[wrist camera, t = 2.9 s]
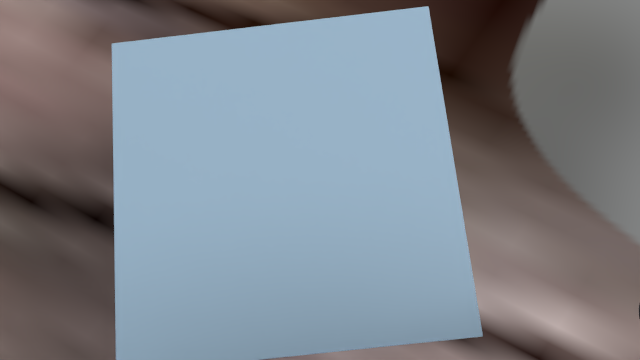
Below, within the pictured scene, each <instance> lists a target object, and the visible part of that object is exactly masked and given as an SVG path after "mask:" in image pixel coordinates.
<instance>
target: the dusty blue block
mask: <svg viewBox="0 0 640 360" xmlns="http://www.w3.org/2000/svg"><path fill="white" fill-rule="evenodd" d="M112 97H113V174H114V251H115V328H116V360H260V359H270V358H279V357H289V356H298V355H308V354H318V353H327V352H337V351H346V350H356V349H366V348H375V347H385V346H394V345H404V344H414V343H423V342H433V341H442V340H452V339H462V338H471V337H481V336H483V334H482V328H481V322H480V316H479V310H478V304H477V298H476V292H475V286H474V280H473V274H472V268H471V262H470V256H469V250H468V243H467V237H466V231H465V225H464V219H463V213H462V207H461V201H460V195H459V189H458V183H457V177H456V171H455V165H454V159H453V153H452V147H451V141H450V135H449V129H448V122H447V116H446V110H445V104H444V98H443V92H442V86H441V80H440V74H439V68H438V62H437V56H436V50H435V44H434V38H433V32H432V26H431V20H430V14H429V8H428V6H427V7H419V8H410V9H402V10H393V11H385V12H377V13H368V14H360V15H351V16H343V17H334V18H326V19H317V20H309V21H300V22H292V23H283V24H275V25H266V26H258V27H249V28H241V29H232V30H224V31H215V32H207V33H198V34H190V35H181V36H173V37H164V38H156V39H147V40H139V41H130V42H122V43H113V44H112Z"/></svg>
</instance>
